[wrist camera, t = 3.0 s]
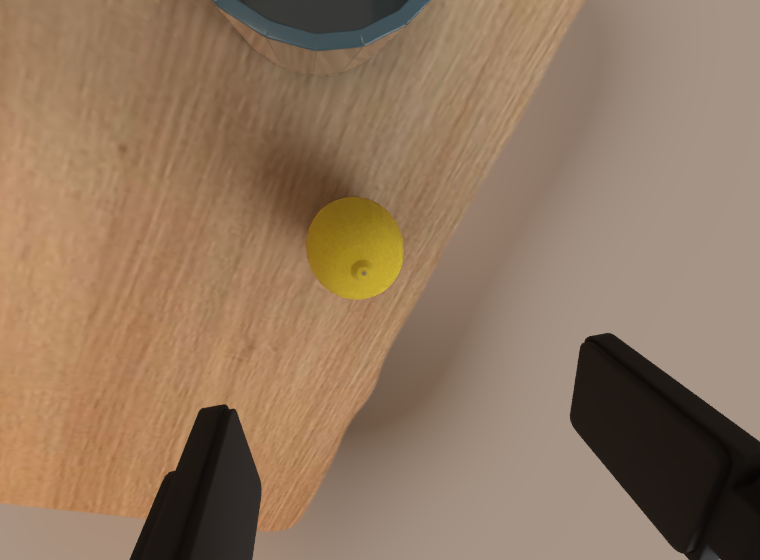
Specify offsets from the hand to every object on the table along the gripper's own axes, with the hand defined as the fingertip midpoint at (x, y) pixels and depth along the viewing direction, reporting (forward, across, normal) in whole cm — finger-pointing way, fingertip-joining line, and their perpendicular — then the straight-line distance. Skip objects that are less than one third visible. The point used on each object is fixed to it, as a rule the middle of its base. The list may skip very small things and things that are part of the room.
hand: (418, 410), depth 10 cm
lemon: (+17, 0, 0) cm, 17 cm away
